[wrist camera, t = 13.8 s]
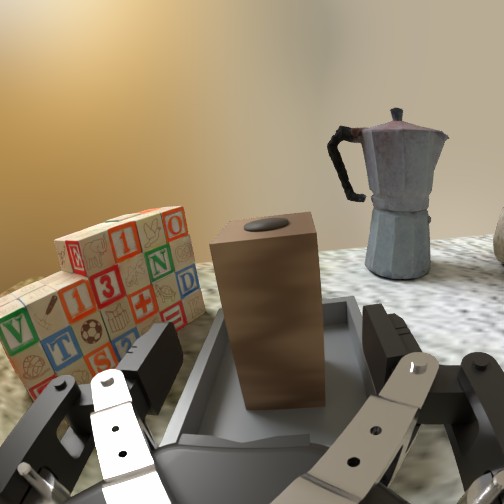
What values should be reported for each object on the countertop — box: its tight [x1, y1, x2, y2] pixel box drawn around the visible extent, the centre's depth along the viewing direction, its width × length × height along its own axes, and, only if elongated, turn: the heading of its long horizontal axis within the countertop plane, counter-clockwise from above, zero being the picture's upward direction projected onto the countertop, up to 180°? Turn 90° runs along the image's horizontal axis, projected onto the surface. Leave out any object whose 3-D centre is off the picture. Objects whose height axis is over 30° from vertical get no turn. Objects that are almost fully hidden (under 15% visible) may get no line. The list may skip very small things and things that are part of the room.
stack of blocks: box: [0, 206, 206, 402], centre depth 26 cm, size 21×6×12 cm, turn 146°
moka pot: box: [327, 108, 449, 279], centre depth 34 cm, size 10×15×20 cm, turn 72°
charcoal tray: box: [159, 296, 377, 447], centre depth 19 cm, size 12×16×3 cm
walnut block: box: [209, 212, 325, 410], centre depth 18 cm, size 5×5×11 cm
